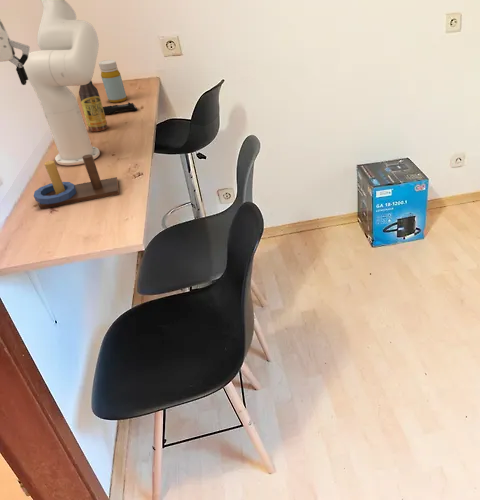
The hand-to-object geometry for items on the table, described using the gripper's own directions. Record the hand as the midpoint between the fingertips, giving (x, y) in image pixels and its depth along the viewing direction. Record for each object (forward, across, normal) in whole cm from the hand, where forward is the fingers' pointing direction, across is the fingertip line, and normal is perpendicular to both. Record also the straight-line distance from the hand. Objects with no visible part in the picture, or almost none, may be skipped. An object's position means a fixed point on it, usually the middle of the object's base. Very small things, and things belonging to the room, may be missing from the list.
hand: (2, 86), depth 124 cm
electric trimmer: (+28, -20, -60) cm, 69 cm away
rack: (+28, -10, +8) cm, 31 cm away
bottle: (+28, -21, -76) cm, 84 cm away
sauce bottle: (+28, -14, -44) cm, 54 cm away
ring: (+27, -4, +8) cm, 28 cm away
